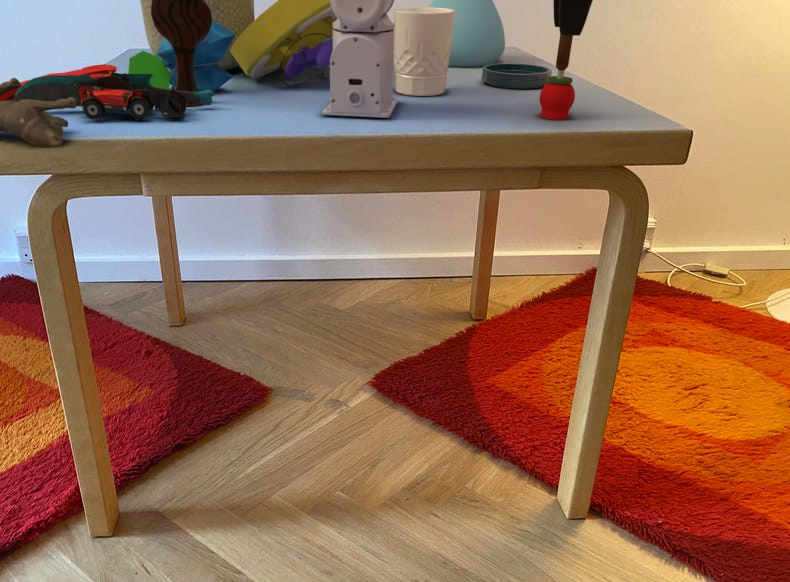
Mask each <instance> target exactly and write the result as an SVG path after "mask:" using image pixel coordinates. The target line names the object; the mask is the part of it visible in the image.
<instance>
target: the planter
mask: <svg viewBox="0 0 790 582" xmlns="http://www.w3.org/2000/svg"><path fill="white" fill-rule="evenodd" d="M204 1H205V2H206V3H207V5H208V7H209V9H210V11H211V16H212V20H213V21H215V22H217V23H218V24H220V25H221V26H223V27H224V28H226V29H228V30H229V31H231V32H232V33H234V34H236V35H235V37H234V39H233V40H232V42H231V44H230V45H229V47H228V49H227V51H226V52H225V54H224V56H223V57H222V59H221V61H220V62H218V63H216V64H217V65H219V66H220V67H221V68H223V69H224V70H225V71H227V72H228V71H232V70H235V69H238V68H239V67H241V66H240V65H239V64H238V62H237V61H236V59H235V58H234V56H233V55H232V54H231V48H232V46H233V44H234V42H235V41H236V40H237V38H238V37H239V36H240V35H241V34H242V33H243V31H244V30H245V29H246V28H247V27H248V26H249V25H250V24H251V23H252V22H253V21H254V20H255V19H256V18H255V0H204ZM139 2H140V8H141V14H142V21H143V27H144V32H145V36H146V41H147V44H148V47H149V49H150V51H151V54H153V55H155V56H158V55H156V53H157V51H158V49H159V47H160V45H161V43H162V41H163V39H164V37H163V36H162V35H161V34H160V33H159V32H158V31H157V29H156V28H155V26H154V23H153V20H152V15H151V4H152V0H139ZM158 57H159V56H158ZM160 58H161V57H160ZM161 60H162V58H161ZM210 64H215V63H210ZM202 65H206V64H202ZM195 66H196V65H195ZM175 69H176V68H175ZM175 69H171V70H172V71H173V70H175Z"/></svg>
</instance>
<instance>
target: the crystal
mask: <svg viewBox="0 0 790 582" xmlns="http://www.w3.org/2000/svg"><path fill="white" fill-rule="evenodd" d="M235 35H236V34H234V33H232V32H231V31H229V30H228V29H226V28H224V27H223V26H221V25H220V24H218V23H217V22H215V21H213V20H212V25H211V28H210V31H209V33H208V35H207V37H206V38H205V39H204V40H202V41H201V42H200V43H199V44H198V45H197V47H196V48H195V52H194V76H195V82H196V86H197V88H198V90H199V92H201V91H205V90H208V89H209V90H211V91H213V92H216V91H217V90H218V89H220V88H221V87H223V86H224V85H225V84H226V83H227V82H228V81H230V80H232V79H233V78H234V76H233V75H232V74H230V73H229V72H228V71H225V70H224V69H223V68H221V67H220V66H219V65H217V64H216V63H218V62H220V61H221V59H222V57H223V56H224V54H225V52H226V51H227V49H228V47H229V45H230V44H231V42H232V40H233V39H234V37H235ZM156 55H158V56H159V57H161V58H162V62H163V63H164V65H165V66H166V68H167V69H168V70H172V69H175V68H176V69H175V70H172V71H171V72H170V86H171V87H172V86H173V87H174V89H175V88H176V84H177V63H176V56H175V53H174V50H173V48H172V46H171V44H170V43H169V41H168V40H167V39H165V38H164V39H163V41H162V43H161V45H160V47H159V49H158V51H157V53H156ZM210 63H215V64H210ZM202 64H206V65H202ZM195 65H196V66H195Z"/></svg>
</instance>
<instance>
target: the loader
mask: <svg viewBox="0 0 790 582" xmlns="http://www.w3.org/2000/svg"><path fill="white" fill-rule="evenodd" d="M109 73H110V74H92V75H91V76H90V78H92V79H94V80H97V87H95V86H92V87H84V88H83V87H81V86H80V87H81V88H79V87H77V88H79V94H80V97H81V103H82V105H81V104H80V106H79V107H80V108H81V109H82V112H83V114H84V116H85V117H86V118H88V119H89V120H93V121H94V120H96V121H98V120H99V119H101V118H102V117H103V116H104V113H128V111H129V113H130V115H131V116H132V118H135V119H138V120H144V119H146V118H147V117H148V116H149V114H150V112H152V111H153V110H154V109H155V111H158V113H159V112H160V114H161V115H162V117H163V118H165V119H170V118H183V116H184V114H185V113H186V111H187V107H185V104H186V99H185V97H184V96H183V95H182V94H180V93H179V92H176V91H175V88H174V87H173V86H172V85H171V89H170V88H169V89H170V93H167V97H166V96H165V100H164V102H163V103H162V105H160V103H159V100H158V98H157V96H156V94H155V92H154V91H153V90H148V89H139V87H137V89H134V87H133V85H132V83H130V82H131V81H130V80H129V81H130V82H129V81H128V80H127V79H128V78H126V77H124V76H127V75H128V76H129V75H132V78H133V77H134V76H133V74H128V73H126V72H123V73H118V72H114V73H111V72H109ZM73 85H74V86H75V85H76V83H75V84H73ZM78 86H79V85H78Z"/></svg>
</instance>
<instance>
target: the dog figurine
mask: <svg viewBox="0 0 790 582" xmlns="http://www.w3.org/2000/svg"><path fill="white" fill-rule="evenodd" d="M20 82H21V81H20V80H18V79H17V78H16V77H11V78H10V79H9V81H4V82H1V83H0V96H1V95H3V94H5V93H6V92H9V91H11V90H13V89H17V88H20V87H21V84H20ZM77 107H78V106H77V101H76V99H74V98H71V97H69V98H67V99H59V100H57V101H40V100H34V99H24V100H20V101H19V102H16V101H1V102H0V132H9V133H11V134H13V135H15V136H18V137H20V138H22V139H23V141H24V142H26V143H28V144H29V145H30V146H32V147H34V148H56V147H61V146H62V144H63V143H64V138H63V135H64V128H68V127H69V122H68V120H67V119H65V118H63V117H60V116H54V115H52V114H49V113H48V112H47V111H52V110H64V109H73V110H74V109H76V108H77Z"/></svg>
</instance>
